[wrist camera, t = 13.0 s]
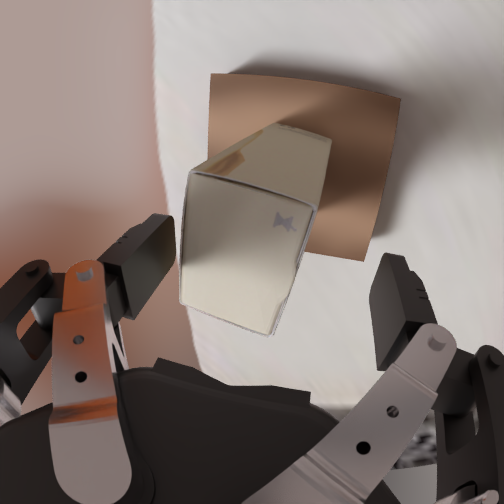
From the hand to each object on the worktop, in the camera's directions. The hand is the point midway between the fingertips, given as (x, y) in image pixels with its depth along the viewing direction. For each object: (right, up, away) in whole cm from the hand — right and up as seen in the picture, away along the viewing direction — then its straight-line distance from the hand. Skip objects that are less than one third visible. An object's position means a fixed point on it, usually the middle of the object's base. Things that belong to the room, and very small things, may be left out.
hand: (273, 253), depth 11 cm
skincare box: (+2, +6, +10) cm, 11 cm away
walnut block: (+3, +8, +13) cm, 15 cm away
